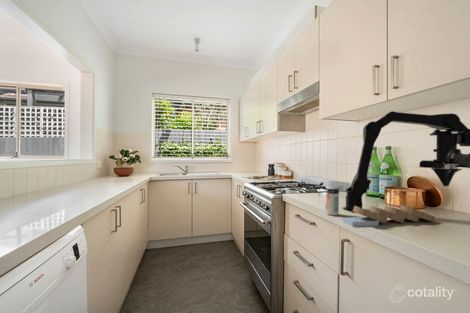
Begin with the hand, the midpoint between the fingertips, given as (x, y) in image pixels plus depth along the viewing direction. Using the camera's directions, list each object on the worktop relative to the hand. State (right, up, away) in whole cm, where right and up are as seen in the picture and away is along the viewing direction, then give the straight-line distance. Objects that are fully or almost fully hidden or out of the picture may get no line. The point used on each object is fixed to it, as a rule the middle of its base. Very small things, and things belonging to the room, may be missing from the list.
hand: (445, 186), depth 84 cm
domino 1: (-30, -11, -6) cm, 32 cm away
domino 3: (-15, -12, -2) cm, 20 cm away
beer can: (-43, -13, +5) cm, 45 cm away
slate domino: (-33, -12, -6) cm, 36 cm away
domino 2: (-22, -12, -4) cm, 25 cm away
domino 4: (-9, -12, -2) cm, 15 cm away
